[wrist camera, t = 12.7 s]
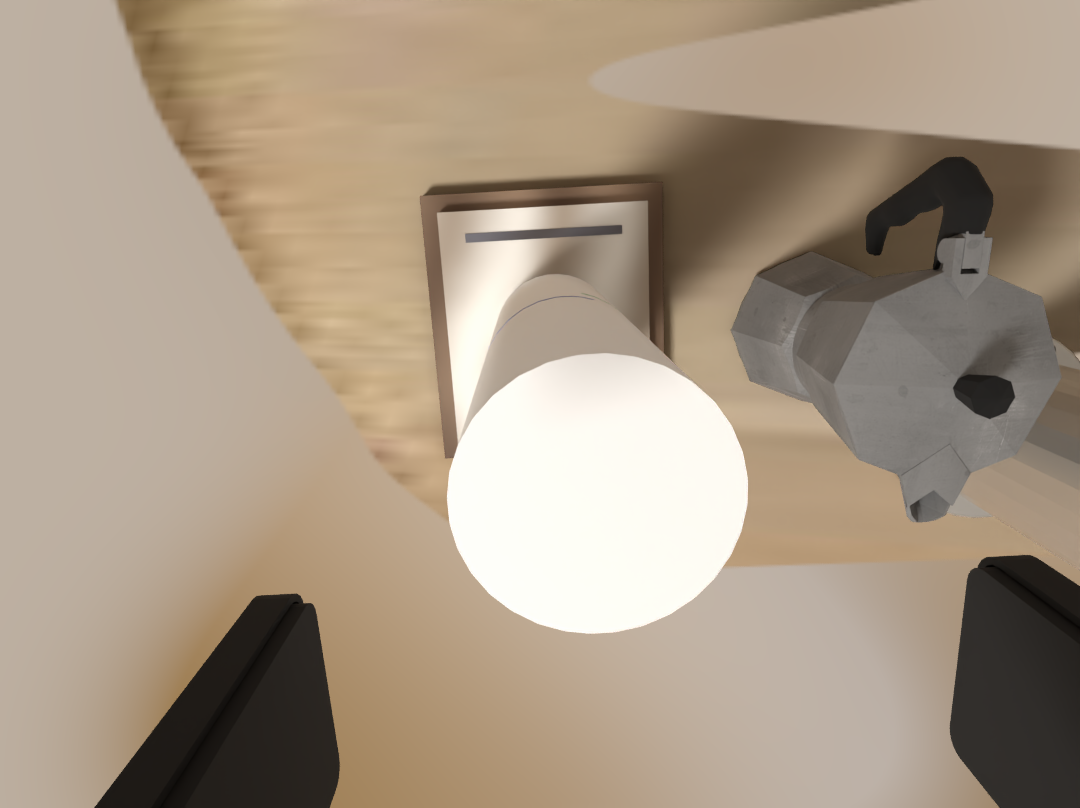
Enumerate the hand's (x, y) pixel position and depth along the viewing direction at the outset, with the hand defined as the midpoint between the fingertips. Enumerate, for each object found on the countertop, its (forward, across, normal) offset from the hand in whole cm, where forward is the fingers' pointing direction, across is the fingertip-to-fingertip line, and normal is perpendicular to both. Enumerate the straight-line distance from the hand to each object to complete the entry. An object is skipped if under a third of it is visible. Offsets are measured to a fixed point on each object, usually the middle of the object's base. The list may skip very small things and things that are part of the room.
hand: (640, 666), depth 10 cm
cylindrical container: (+32, 0, 0) cm, 32 cm away
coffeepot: (+34, -15, 0) cm, 37 cm away
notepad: (+33, +1, 0) cm, 33 cm away
